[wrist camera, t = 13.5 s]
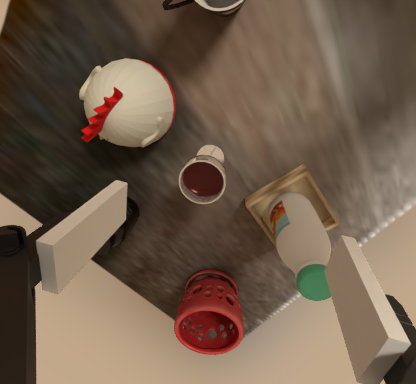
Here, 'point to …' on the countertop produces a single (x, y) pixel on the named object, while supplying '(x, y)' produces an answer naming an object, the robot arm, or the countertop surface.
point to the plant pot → (210, 313)
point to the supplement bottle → (122, 228)
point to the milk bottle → (301, 243)
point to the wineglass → (204, 176)
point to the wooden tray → (289, 182)
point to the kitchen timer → (128, 103)
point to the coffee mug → (210, 5)
